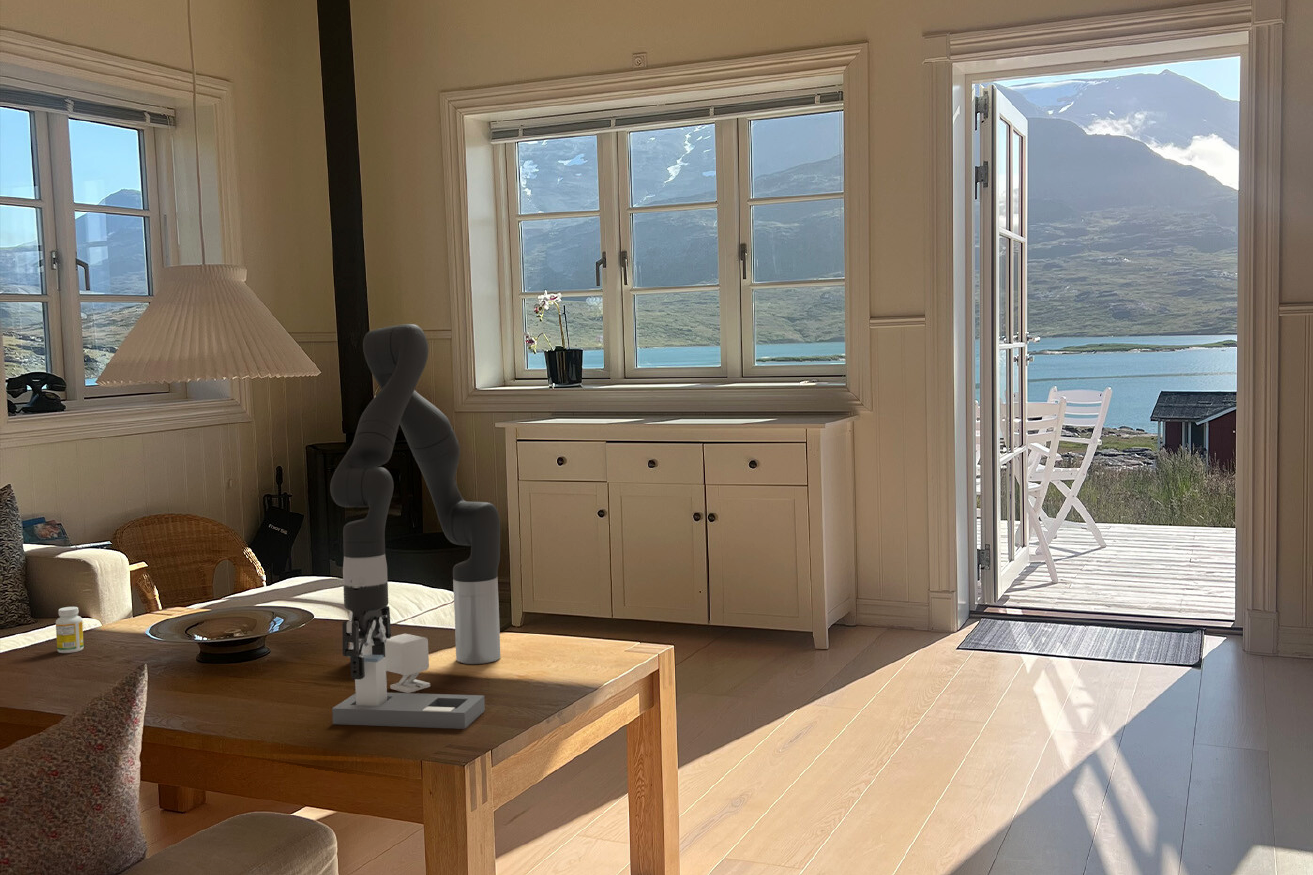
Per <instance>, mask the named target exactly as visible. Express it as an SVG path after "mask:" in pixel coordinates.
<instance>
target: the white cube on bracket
mask: <svg viewBox="0 0 1313 875" xmlns="http://www.w3.org/2000/svg"><path fill="white" fill-rule="evenodd" d="M385 659H386V672H391V673H393V674H394V673H395V674H398V675H401V676H402V677H401V678H400V679H399V682H396V683H393V684H390V689H391V690H395V691H397V692H400V693H414V692H416V691H420V690H424V689H427V688H430V687H431V683H430V682H427V681H424V680H420V679H417V677H418V676H419V674H420V673H421V672H424V671H427V670H428V669H429V667H430V662H429V661H430V657H429V641H428V637H424V636H419V635H413V634H410V633H402V634H397V635H393V636H391V638H390V639H387V644H386V645H385Z"/></svg>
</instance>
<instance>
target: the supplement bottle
mask: <svg viewBox="0 0 1313 875" xmlns="http://www.w3.org/2000/svg"><path fill="white" fill-rule="evenodd" d="M57 611H58V616H59V617H58V618H57V619H56V620H55V633H56V635H55V636H56V648H57V650H56V651H57V652H58V653H60V654H70V653H73V654H74V653H77V652H81V651H82V650H83V649H85V648H84V627H83V618H82V617H81V616H79V611H80V610H79V607H77V606H66V607H61V608H59V609H58V610H57Z"/></svg>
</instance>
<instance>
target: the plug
mask: <svg viewBox="0 0 1313 875" xmlns="http://www.w3.org/2000/svg"><path fill="white" fill-rule="evenodd" d="M363 657H364V670H365V677H364V678H363V679H354V685H355V693H356V705H366V706H381V705H382V704H383V703H385V702H386V701H387V693H388V689H387V687H388V684H387V671H386V659H385V657H383V655H364V656H363Z"/></svg>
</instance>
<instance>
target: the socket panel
mask: <svg viewBox="0 0 1313 875" xmlns="http://www.w3.org/2000/svg"><path fill="white" fill-rule="evenodd" d="M485 702H486V701H485V695H481V694H480V695H479V694H478V695H477V694H448V693H447V694H446V693H445V694H443V693H418V692H417V693H416V692H415V693H414V692H411V693H405V692H387V701H386V702H385V703H383V704H382V705H381V706H366V705H356V692H355V693H354V694H352V695H350V696H349V697H347V698H346V699H345V700H342V701H341V702H340V703H338V704H336V705H335V706H333V707H332V708H331V710H332V712H331V713H332V725H346V726H348V725H350V726H353V725H354V726H372V727H373V726H377V727H378V726H379V727H380V726H381V727H404V728H405V727H406V728H407V727H409V728H427V729H428V728H432V729H433V728H434V729H458V730H460V729H462V730H463V729H464V730H465V729H466V728H468V727H469V726H470V725H471V724H472V723H473V722H474V721H476V719H477V718H479V717H480V716H481V715H482V714H483V713H484V712H485V710H486V706H485V705H486V704H485Z"/></svg>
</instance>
